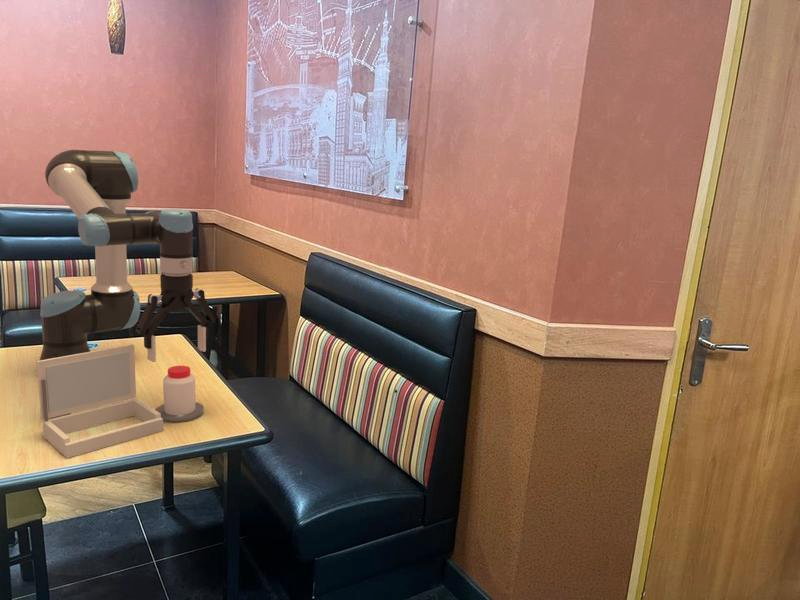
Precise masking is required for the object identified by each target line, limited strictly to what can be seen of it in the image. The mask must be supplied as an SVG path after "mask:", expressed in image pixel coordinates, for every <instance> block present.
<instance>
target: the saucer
mask: <svg viewBox="0 0 800 600" xmlns="http://www.w3.org/2000/svg"><path fill="white" fill-rule="evenodd" d="M154 410H156V411H157V412H159V413H161V418H163V423H164V422H165V423H171V424H177V423H179V424H180V423H187V422H191V421H194V420H197V419H199V418H201V417H202V416H203V415H204V412H205V407H204V406H203V404H202V403H199V402H196V409H195V410H194V411H193V412H191V413H189V414H185V415H170V414H167V413H165V412H164V403H162V404H160V405H159V406H157V407H156V408H155V409H154Z"/></svg>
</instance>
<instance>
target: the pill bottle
mask: <svg viewBox="0 0 800 600" xmlns="http://www.w3.org/2000/svg"><path fill="white" fill-rule="evenodd" d="M162 380H163V381H162V385H163V386H162V388H163V389H162V391H163V404H164V412H165V413H167V414H170V415H185V414H189V413H191V412H193V411H194V410H195V409H196V399H197V398H196V377H195V376H194V374H192V373H191V367H190V366H187V365H174V366H173V365H172V366H171V367H168V368H167V375H166V376H164V377H163V379H162Z"/></svg>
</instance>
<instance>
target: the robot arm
mask: <svg viewBox="0 0 800 600" xmlns="http://www.w3.org/2000/svg"><path fill="white" fill-rule="evenodd" d="M44 174H45V175H44V178H45V182H46V184H47V185H48V187H49V189H50V190H51V191H52V192H53V193H54V194H55V195H57V196H59V197H62V199H63V200H64V202H65V203H66V204H67V206H68V207H69V208H70V210H71V211H72V212H73V214H75V216H76V217H77V219H78V223H77V228H78V229H77V231H78V235H79V237H80V239H79V240H80V241H81V243H82V244H83V245H85V246H88V247H89V246H90V247H94V248H95V249H94V250H95V251H94V253H95V279H96V281H95V282H94V284H93V285H92V286H91V287H90V294H86V293H85V292H84V291H83V290H78V289H77V290H76V289H75V290H74V289H73V290H63V291H62V290H61V291H58V292H54V293H51V294H49V295H46V296H45V297H44V298H42V300H41V302H40V313H39V315H40V322H41V334H42V336H41V337H42V350H41V354H40V356H39V360H38V361H40V360H46V359H51V358H57V357H63V356H68V355H74V354H80V353H85V352H91V351H92V350H91V349H90V346H89V344H88V335H89V334H95V333H102V332H110V331H122V330H125V329H129V328H132V327H134V326H135V325H136V324H137V322H138V324H137V326H136V328H135V330H134V331H135V333H137V334H138V335H141V336H143V347H144V348H145V349H147V360H149V361H150V362H152V363H154V362H157V358H156V357H157V355H156V354H157V352H156V347H157V346H156V335H154V333H155V332H156V330H157V329H158V327H159V326H160V325H161V323H162V322H163V321H164V319H165V318H166V317H167V315H169V314H170V313H171V312H178V311H185V310H186V309H187V311H189V312H190V314H191V315H192V316H193V317H194V318H195V319H196V320H197V321H198V323H200V324H198V325H197V350H199V351H201V352H203V353H204V352H206V351H207V338H209V328H210V327H211V326H212V324H215V323H216V318H215V316H214V313H213V312H212V310H211V307H210V305H209V303H208V302H207V301H208V300H207V299H206V296H205V290H203V289H200V288H198V287H197V288H195V290H193V288H194V287H193V286H194V283H193V282H194V278H193V276H194V275H193V274H192V273H193V268H194V266H193V262H194V261H193V245H194V244H193V240H194V239H193V238H194V237H193V236H194V235H193V233H194V230H193V229H194V224H193V214H192V212H191V211H189V210H186V209H179V208H169V209H168V208H166V209H162V210H161V211H152V210H151V211H146V212H144V213H141V212H140V213H127V212H126V211H127V209H126V207H127V206H126V205H127V203H129V201H130V200H132V194H133V193H135V192H137V190H138V189H139V188H138V186H139V176H138V175H139V174H138V170H137V166H136V164H135V162H134V160H133V158H132V157H131V156H130V155H129V154H128V153H126V152H120V151H114V150H91V149H90V150H84V149H69V150H64V151H62V152H59V153H57V154H56V155H54V156H53V157H52V158H51V159H50V160H49V162H48V163H47V165H46V168H45V172H44ZM145 244H147V245H148V244H157V245H158V244H159V263H160V264H159V265H160V267H159V271H160V272H161V274H160V277H159V278H160V281H159V282H160V294H158V295H157V294H156V295H154V294H152V293H150V294H148V296H147V304H146V306H145V308H144V309H143V312H142V314H141V301H140V295H139V294H138V292H137V291H136V290H133V289H134V288H133V285H132V284H130V283H129V282H128V267H127V265H128V264H127V263H128V260H127V259H128V257H127V255H128V254H127V245H145ZM193 298H195V300H196V302H197V303H198V305H199V307H200V310H201V311H202V313H201V312H200V311H199V310H198V308H196V306H195V305H194V304H193V302H192V300H193ZM160 302H161V304H160ZM159 304H160V305H159ZM158 305H159V306H158ZM157 307H158V310H157ZM156 310H157V311H156ZM155 311H156V312H155ZM154 313H155V314H154ZM140 314H141V317H140ZM139 319H140V320H139ZM138 320H139V321H138Z"/></svg>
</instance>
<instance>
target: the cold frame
mask: <svg viewBox="0 0 800 600" xmlns="http://www.w3.org/2000/svg"><path fill="white" fill-rule="evenodd" d="M90 351H91V352H85V353H80V354H74V355H68V356H63V357H57V358H51V359H46V360H40V361H39V360H37V361H36V366H37V367H36V368H37V381H38V397H39V406H40V407H39V411H40V419H41V420H42V434H43V435H42V436H43V438H44V439H45V438H46V439H47V440H48V441H47V440H46V439H45V440H46V441H47V442H49V443H50V444H51V445H52V446H53V447H54V448H55V447H56V448H55V449H56V450H57V451H59V453H60V454H62V455H63V456H64V457H65V458H66V459H69V458H73V457H76V456H79V455H83V454H86V453H90V452H94V451H97V450H101V449H103V448H107V447H111V446H115V445H118V444H122V443H125V442H129V441H132V440H137V439H138V438H142V437H146V436H148V435H149V436H150V435H153V434H156V433H161V432H163V431H164V422H163V418H161V413H159V412H157V411H156V410H155V409H154V408H152V406H149V405H148V404H146V403H145V402H143V401H142V400H139V399H138V398H137V385H136V384H137V383H136V361H135V359H136V357H135V356H136V355H135V344H134V343H132V344H125V345H120V346H115V347H110V348H109V347H108V348H103V349H97V350H90ZM69 413H71V414H69ZM65 414H69V415H65ZM61 415H64V416H61ZM57 416H60V417H57ZM134 416H135V417H136V418H137V419H139V420H140V421H142V422H139V423H135V424H131V425H128V426H125V427H120V428H117V429H113V430H110V431H109V430H108V431H105V432H102V433H98V434H94V435H90V436H87V437H84V438H80V439H77V440H76V439H75V440H73V441H71V438H70V437H69V436H68V435H67V434H68V433H72V432H76V431H79V430H83V429H84V430H85V429H88V428H92V427H95V426H100V425H103V424H107V423H110V422H115V421H118V420H122V419H126V418H130V417H134ZM53 417H56V418H53ZM51 418H52V419H51Z"/></svg>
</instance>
